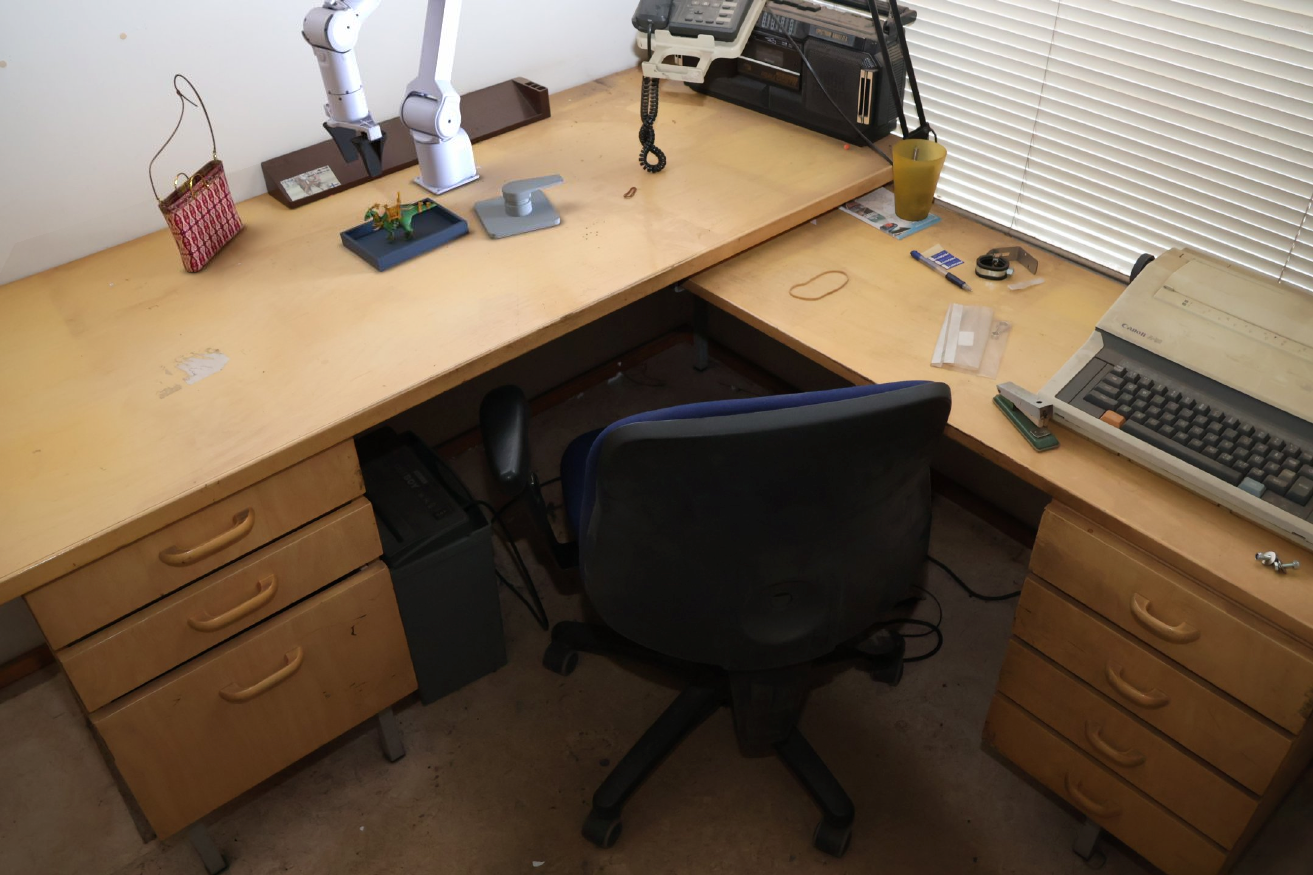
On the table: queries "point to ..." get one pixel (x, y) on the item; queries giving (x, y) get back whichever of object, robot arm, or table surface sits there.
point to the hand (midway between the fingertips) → (363, 168)
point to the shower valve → (519, 208)
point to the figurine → (396, 217)
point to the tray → (427, 234)
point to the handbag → (200, 208)
